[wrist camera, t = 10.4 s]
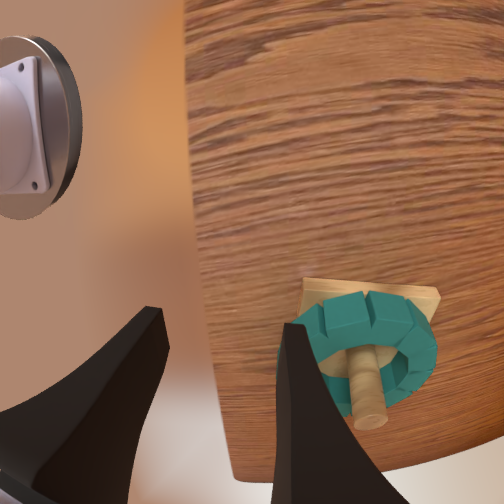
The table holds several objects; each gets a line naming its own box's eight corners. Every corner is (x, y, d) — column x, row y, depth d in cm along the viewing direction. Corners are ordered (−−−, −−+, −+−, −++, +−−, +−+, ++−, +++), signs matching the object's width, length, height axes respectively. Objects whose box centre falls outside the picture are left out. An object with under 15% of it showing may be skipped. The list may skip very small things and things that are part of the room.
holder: (286, 368, 23) (281, 451, 17) (302, 276, 18) (305, 376, 12) (393, 371, 23) (407, 447, 17) (435, 286, 18) (475, 372, 12)
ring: (266, 382, 23) (263, 408, 21) (301, 277, 17) (302, 306, 15) (387, 394, 23) (391, 418, 21) (452, 303, 17) (465, 329, 15)
